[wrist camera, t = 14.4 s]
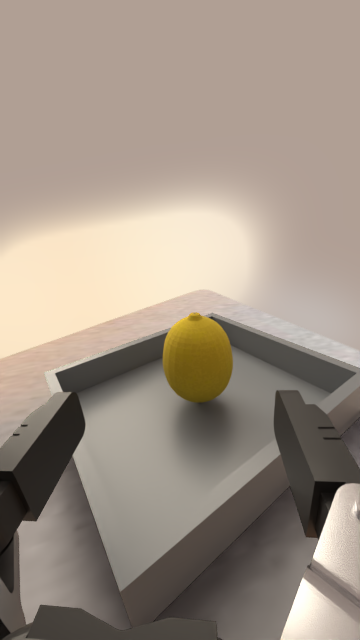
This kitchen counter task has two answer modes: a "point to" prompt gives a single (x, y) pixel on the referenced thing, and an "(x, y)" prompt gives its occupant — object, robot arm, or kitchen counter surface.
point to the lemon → (197, 358)
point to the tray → (188, 453)
